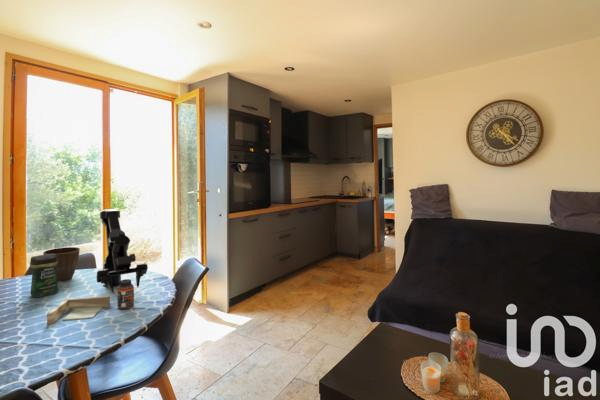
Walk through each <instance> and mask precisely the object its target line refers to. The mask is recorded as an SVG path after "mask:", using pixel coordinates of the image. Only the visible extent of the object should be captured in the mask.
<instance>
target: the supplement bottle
mask: <svg viewBox="0 0 600 400" xmlns="http://www.w3.org/2000/svg"><path fill="white" fill-rule="evenodd" d="M134 304H135V287H134V284H133V283H132V280H131V279H128V278H126V279H121V281H120V285H118V287H117V308H118V309H120V310H126V309H131V308H132V307H133V306H134Z"/></svg>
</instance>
